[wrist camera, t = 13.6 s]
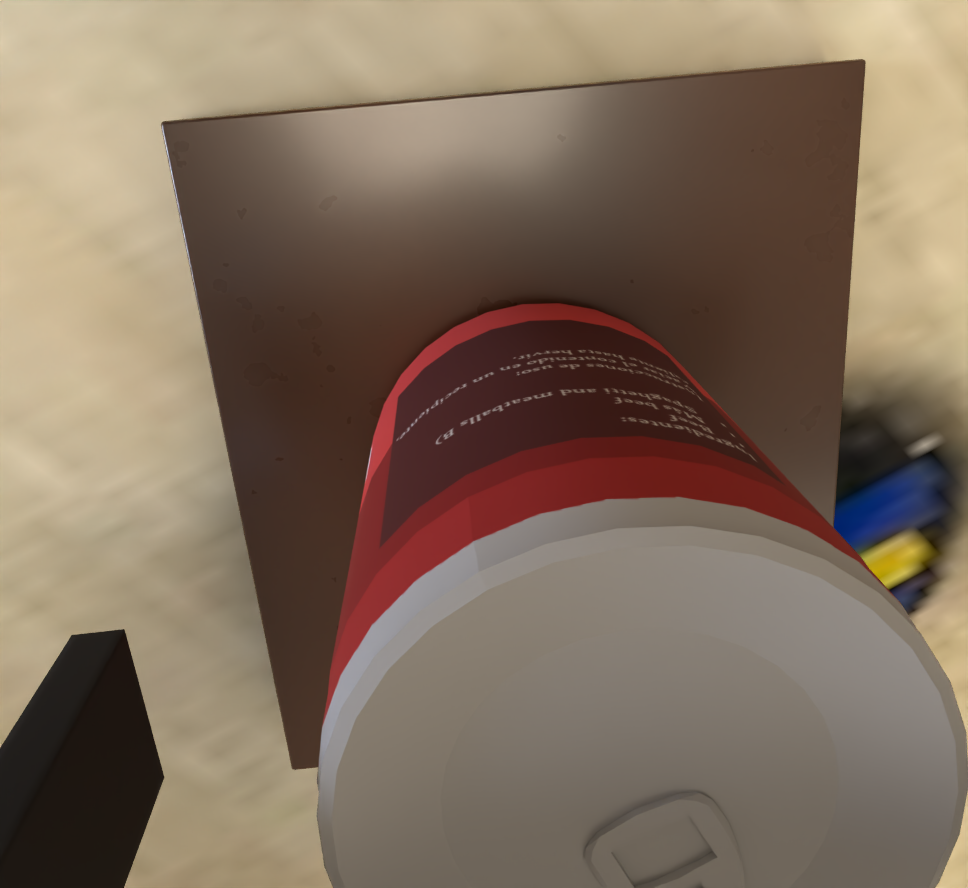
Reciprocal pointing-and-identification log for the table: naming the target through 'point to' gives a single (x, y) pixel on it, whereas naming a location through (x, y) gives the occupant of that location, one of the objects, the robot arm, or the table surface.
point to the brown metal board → (505, 281)
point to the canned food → (615, 644)
